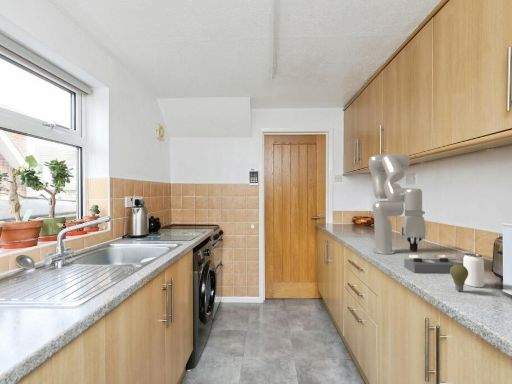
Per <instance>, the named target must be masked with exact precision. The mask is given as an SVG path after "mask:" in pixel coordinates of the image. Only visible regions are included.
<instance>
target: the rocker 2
mask: <svg viewBox="0 0 512 384" xmlns="http://www.w3.org/2000/svg"><path fill="white" fill-rule="evenodd" d="M433 257H434V258H433V259H440V258H448V259H452V258H455V254H434V255H433Z"/></svg>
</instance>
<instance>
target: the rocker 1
mask: <svg viewBox="0 0 512 384" xmlns="http://www.w3.org/2000/svg"><path fill="white" fill-rule="evenodd" d="M413 258H422V259H428V255H427V254H409V255H408V259H413Z"/></svg>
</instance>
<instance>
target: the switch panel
mask: <svg viewBox="0 0 512 384" xmlns="http://www.w3.org/2000/svg"><path fill="white" fill-rule="evenodd" d="M403 262H404V263H403V264H404V265H403V266H404V267H403V268H405V269H406V270H409V271H410V272H411V273H413V274H450V268H451V267H452V266H453V265H456V264H459V265H463V261H461V260H459V259H456V258H404V259H403Z"/></svg>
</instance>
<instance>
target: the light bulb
mask: <svg viewBox="0 0 512 384" xmlns="http://www.w3.org/2000/svg"><path fill="white" fill-rule="evenodd" d="M449 274H450V275H451V278H452V279H453V283H454V284H455V290H457V292H462V291H464V285H465V280H466V279H467V277H468V270H467V269H466V268H465V267H464V266H463V265H459V264H456V265H453V266H452V267H451V268H450V273H449Z"/></svg>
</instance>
